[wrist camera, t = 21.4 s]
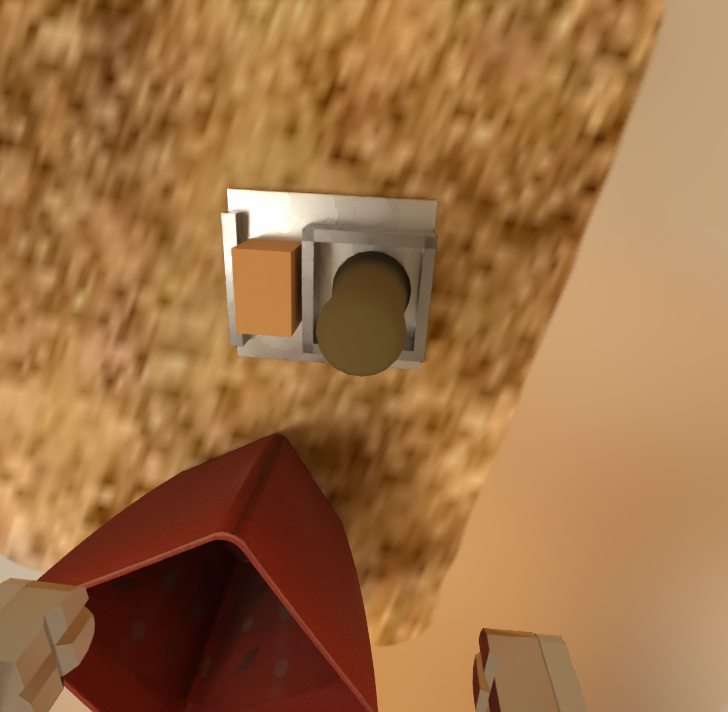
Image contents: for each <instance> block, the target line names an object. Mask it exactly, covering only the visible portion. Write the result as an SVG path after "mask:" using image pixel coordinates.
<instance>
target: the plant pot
mask: <svg viewBox="0 0 728 712" xmlns="http://www.w3.org/2000/svg"><path fill="white" fill-rule="evenodd" d="M37 581H41V582H49V583H56V584H64V585H72V586H80V587H85V588H86V591H87V594H88V597H89V599H88V601H87V602H86V603H85V605H84V606H85V607H86V608H87V609H88V610H89V611H90V612H91V613H92V614H93V616H94V621H95V628H94V635H93V638H92V641H91V644H90V646H89V649H88V651H87V653H86V654H85V656H84V658H83V659H82V661H81V662H80V664H79V665H78V666H77V667H75V668H74V669H73V670H71V671H70V672H68V673H67V674H66V675H64V686H65V687H66V688H67V689H68V690H69V691H70V692H72V693H73V694H74V695H75V696H76V697H77V698H78V699H79V700H80V701H81V702H83V704H85V705H86V706H87V707H88V708H89V709H90V710H91V711H92V712H378V707H377V696H376V685H375V676H374V667H373V660H372V653H371V646H370V639H369V633H368V627H367V621H366V615H365V609H364V604H363V599H362V594H361V589H360V585H359V581H358V576H357V572H356V568H355V565H354V561H353V557H352V553H351V550H350V547H349V543H348V540H347V537H346V534H345V531H344V528H343V525H342V522H341V521H340V519H339V518H338V516H337V515H336V513H335V512H334V510H333V509H332V507H331V506H330V504H329V503H328V501H327V500H326V498H325V496H324V495H323V493H322V492H321V490H320V489H319V487H318V486H317V484H316V483H315V481H314V480H313V478H312V477H311V475H310V474H309V472H308V470H307V469H306V467H305V466H304V464H303V463H302V461H301V460H300V458H299V457H298V455H297V454H296V452H295V451H294V449H293V447H292V446H291V444H290V443H289V441H288V440H287V439H286V438H285V437H284V436H282V435H271V436H268V437H266V438H263V439H261V440H259V441H256V442H254V443H251V444H249V445H246V446H244V447H242V448H239V449H237V450H234V451H232V452H230V453H227V454H225V455H222V456H220V457H218V458H215V459H213V460H210V461H208V462H206V463H203V464H201V465H198V466H196V467H194V468H191V469H189V470H186V471H184V472H181V473H179V474H177V475H176V476H174V477H173V478H171V479H169V480H168V481H166V482H164V483H163V484H161V485H159V486H158V487H156V488H155V489H153V490H152V491H150V492H149V493H147V494H146V495H144V496H143V497H141V498H140V499H138V500H137V501H136V502H134V503H133V504H131V505H130V506H129V507H127V508H126V509H124V510H123V511H121V512H120V513H119V514H117V515H116V516H115V517H113V518H112V519H111V520H109V521H108V522H107V523H105V524H104V525H103V526H101V527H100V528H99V529H97V530H96V531H95V532H94V533H92V534H91V535H90V536H89V537H87V538H86V539H85V540H84V541H83V542H81V543H80V544H79V545H78V546H76V547H75V548H74V549H73V550H72V551H70V552H69V553H68V554H67V555H66V556H64V557H63V558H62V559H61V560H60V561H59V562H57V563H56V564H55V565H54V566H53V567H52V568H50V569H49V570H48V571H47V572H46V573H45V574H44V575H42V576H41V577H40V578H39V579H38V580H37Z"/></svg>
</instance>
